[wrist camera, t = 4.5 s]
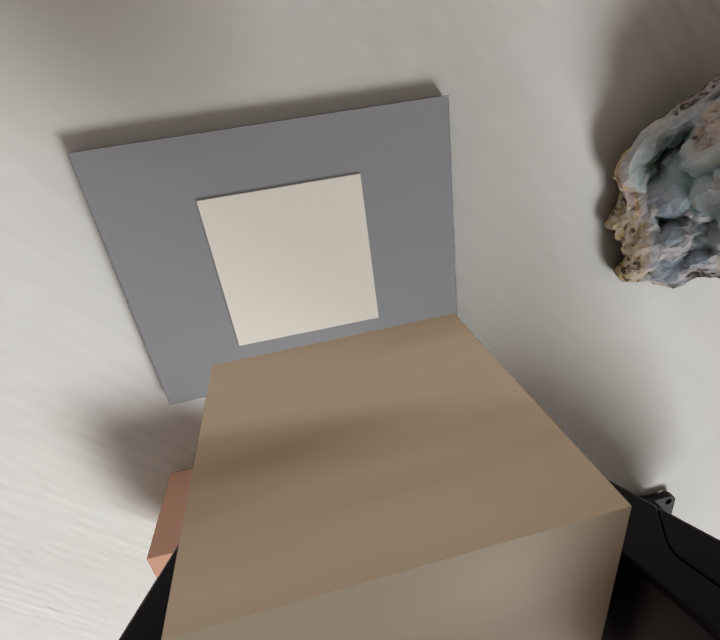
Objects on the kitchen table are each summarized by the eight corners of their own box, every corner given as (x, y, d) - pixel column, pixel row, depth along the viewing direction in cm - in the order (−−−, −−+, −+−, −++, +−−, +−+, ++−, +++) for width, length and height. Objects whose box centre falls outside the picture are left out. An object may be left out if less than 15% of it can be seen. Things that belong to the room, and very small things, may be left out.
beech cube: (459, 482, 11) (583, 716, 7) (269, 532, 11) (275, 822, 7) (453, 312, 9) (631, 505, 5) (212, 365, 9) (160, 640, 4)
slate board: (453, 337, 22) (459, 343, 22) (172, 397, 21) (169, 405, 20) (442, 95, 17) (449, 95, 17) (74, 152, 16) (66, 153, 15)
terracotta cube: (287, 515, 26) (290, 599, 21) (199, 536, 25) (184, 628, 21) (267, 449, 23) (266, 529, 19) (171, 472, 23) (146, 559, 18)
